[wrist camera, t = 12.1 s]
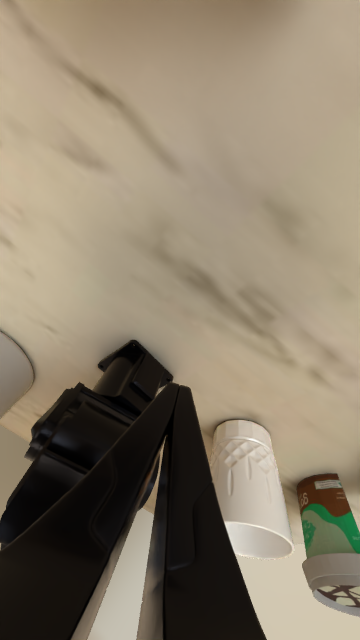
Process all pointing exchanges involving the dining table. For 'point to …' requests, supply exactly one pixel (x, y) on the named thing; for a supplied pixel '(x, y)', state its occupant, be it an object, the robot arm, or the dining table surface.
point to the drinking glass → (250, 491)
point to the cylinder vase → (13, 374)
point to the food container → (330, 543)
